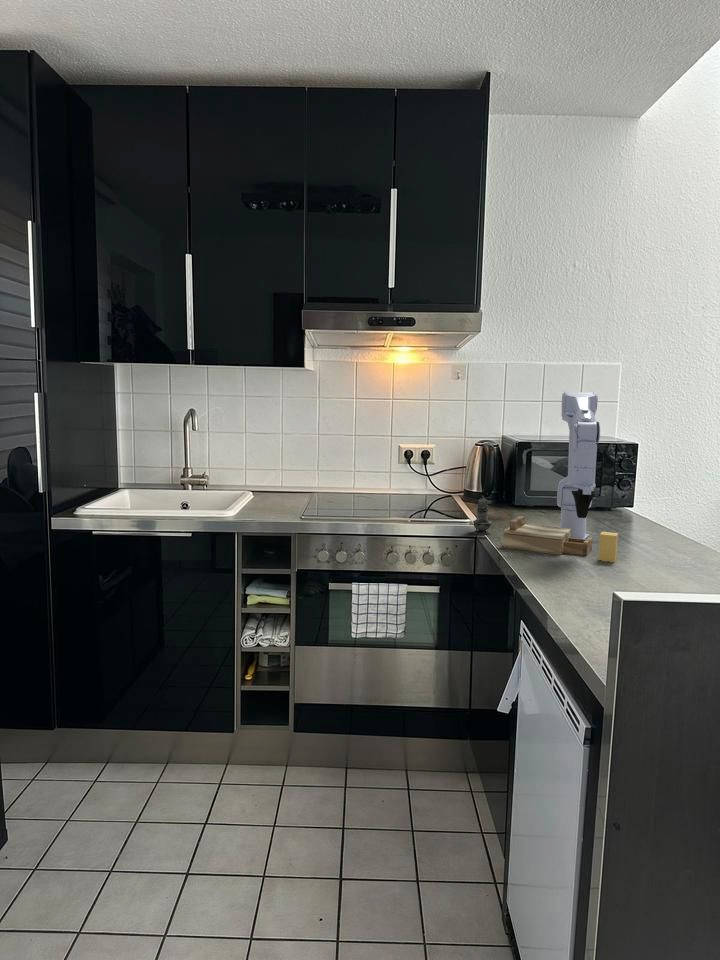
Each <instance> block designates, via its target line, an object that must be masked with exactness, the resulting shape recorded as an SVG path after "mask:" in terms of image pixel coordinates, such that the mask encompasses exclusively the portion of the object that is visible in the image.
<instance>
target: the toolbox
mask: <svg viewBox="0 0 720 960" xmlns="http://www.w3.org/2000/svg"><path fill="white" fill-rule="evenodd" d="M571 534H572V532H570V533H569V534H568V535H567V536H566V537H564V538H563V539H562V540H561V539H552V538H543V537H533V536H524V535H515V534H506V533H504V532H503V538H502V539H503V540H502V541H503V542H502V548H503V549H511V550H518V551H526V552H527V551H528V552H533V553H535V552H536V553H541V554H543V553H544V554H551V555H559V556H561V555H562V554H571V555H572V554H573V555H579V556H588V555H589V554H590V553H591V552H592V551H591V550H592V549H593V537H590V536H588V537H587V538H586V539H579V538H571Z"/></svg>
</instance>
